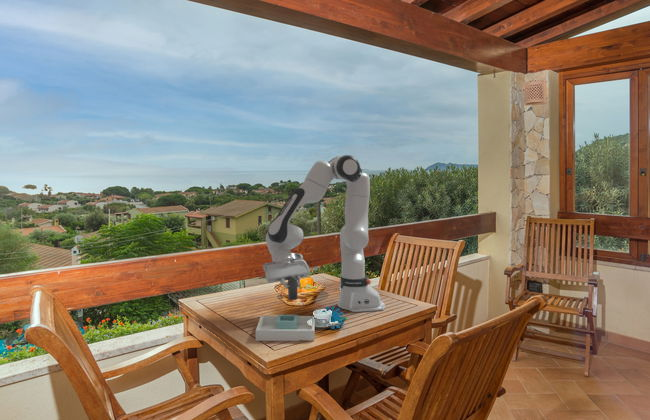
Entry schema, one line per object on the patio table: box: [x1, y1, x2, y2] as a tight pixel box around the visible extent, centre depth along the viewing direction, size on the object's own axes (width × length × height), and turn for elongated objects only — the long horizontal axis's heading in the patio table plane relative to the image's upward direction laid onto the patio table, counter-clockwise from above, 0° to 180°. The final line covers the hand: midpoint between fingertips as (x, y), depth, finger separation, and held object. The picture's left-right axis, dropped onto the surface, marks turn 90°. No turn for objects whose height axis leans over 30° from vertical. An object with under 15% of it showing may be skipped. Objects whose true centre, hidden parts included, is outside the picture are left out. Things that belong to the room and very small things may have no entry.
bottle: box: [287, 275, 299, 301], centre depth 178 cm, size 4×4×10 cm
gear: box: [321, 305, 348, 330], centre depth 170 cm, size 11×6×10 cm
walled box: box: [255, 314, 316, 342], centre depth 162 cm, size 22×16×5 cm
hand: (293, 287), depth 177 cm, fingers closed on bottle, 4 cm apart
